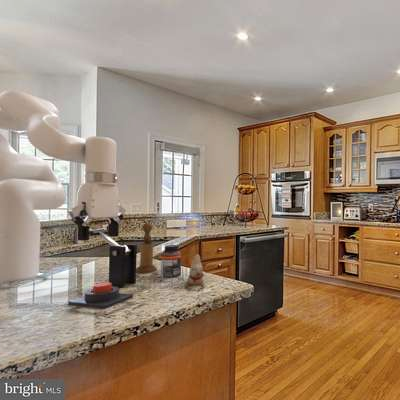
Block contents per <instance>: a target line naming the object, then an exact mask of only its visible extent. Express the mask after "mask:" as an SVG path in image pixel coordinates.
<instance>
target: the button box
mask: <svg viewBox="0 0 400 400" xmlns="http://www.w3.org/2000/svg"><path fill="white" fill-rule="evenodd" d="M133 298H134V294H131V293H123V292H120V288H118V287H114V286H111V291H108V292H103V293H93V288H90V289H88V290H86V291H85V292H84V296H81V297H78V298H74V299H72V300H69V301H68V302H67V305H68V306H74V307H83V308H92V309H100V310H106V309H108V308H111V307H114V306H116V305H118V304H120V303H123V302H126V301H128V300H130V299H133Z"/></svg>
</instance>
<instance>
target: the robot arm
mask: <svg viewBox="0 0 400 400" xmlns="http://www.w3.org/2000/svg"><path fill="white" fill-rule="evenodd" d="M61 123H62V122H61V119H60V112H59V109H58V108H57V107H56V105H54V104H53V103H52V102H51V101H49V100H46V99H43V98H42V97H41V98H40V97H39V96H38V97H37V96H35V95H33V94H30V93H27V92H24V91H20V90H15V89H13V90H11V89H10V90H9V89H8V90H5V91H3V92H1V93H0V130H4V131H9V132H15V133H25V132H26V137H27V140H28V142H29V144H31V145H32V146H33V147H34V148H35V149H36V150H38V151H39V152H41V153H42V154H43V155H45V156H47V157H49V158H51V159H53V160H58V161H64V162H71V163H75V164H81V165H84V183H81V184H80V187H79V191H78V196H77V201H76V202H77V203H76V206H74V207H72V208H70V209H68V210H67V211H68V214H69V216H70V218H71V219H70V220H71V221H72V222H73V223H74V225H75V226H76V227H77V240H78V241H83V242H84V241H85V242H86V241H90V235H89V232H90V225H89V223H90V222H92V221H91V220H93V219H95V220H96V219H107V220H108V221H109V223H108V225H107V227H108V228H107V230H108V234H107V236H108V237H109V238H111V237H112V238H114V237H115V238H117V237H119V230H120V224H121V222H122V220H123V219H124V216H125V213H126V212H127V211H126V209H125V208H124V207H123V206H121V205H120V195H119V190H118V185H117V182H118V178H117V158H118V157H117V156H118V155H117V154H118V153H117V151H118V149H117V148H118V145H117V141H116V140H114V139H113V138H110V137H105V136H96V135H94V136H93V135H92V136H88V137H87V138H82V137H79V136H76V135H72V134H68V133H63V132H61V131H59V130H60V129H61V126H62V124H61ZM66 199H67V195H66V190H65V188H64V185H63V184H62V182H61V180H59V178H58V176H57V174H56V173H55V172H54V170H53V168H52V166H51V165H50V164H49V163H48V162H47V161H46V160H44V159H43V158H41V157H39V156H36V155H31V154H26V153H25V154H24V153H20V152H18V151H16V150H15V149H14V148H13V146H12V145H11V143H10V141H9V140H8V139H7V138H6V137H5V136H4V135H3V134H2V133H0V284H4V283H10V282H19V281H25V280H31V279H34V278H37V277H39V276H40V275H42V273H40V259H41V258H40V256H41V255H40V254H41V221H40V219H39V217H38V215H37V214H36V212H35V211H36V210H37V211H39V210H56V209H59V208H61V207H62V206H63V205H64V204H65V202H66Z"/></svg>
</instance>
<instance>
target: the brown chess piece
mask: <svg viewBox="0 0 400 400" xmlns="http://www.w3.org/2000/svg"><path fill="white" fill-rule="evenodd" d="M142 230H143V231H144V235H143V241H144V242H140V252H139V253H140V255H139V258H140V259H139V266H137V267H136V274H148V273H149V274H150V273H153V272H157V271H158V267H156V265H154V242H153V241H151V239H152V235H151V234H150V233H151V231H153V224H152V223H151V222H145V223H143V225H142Z"/></svg>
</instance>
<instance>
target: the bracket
mask: <svg viewBox="0 0 400 400" xmlns="http://www.w3.org/2000/svg"><path fill="white" fill-rule="evenodd" d="M122 245H126V246H127V247H128V248H130V249H131V250H132V251H131V253H130V254H129V256H128V257H126V258H125V254H126V246H122ZM137 252H138V244H136V243H135V244H134V243H121V245H120V246H111V245H110V246H109V254H108V255H109V261H108V282H109V283H112V285H111V286H114V287H118V288H119V289H124V288H125V284H126V285H135V284H136V283H137V273H136V268H137V257H138V254H137Z"/></svg>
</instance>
